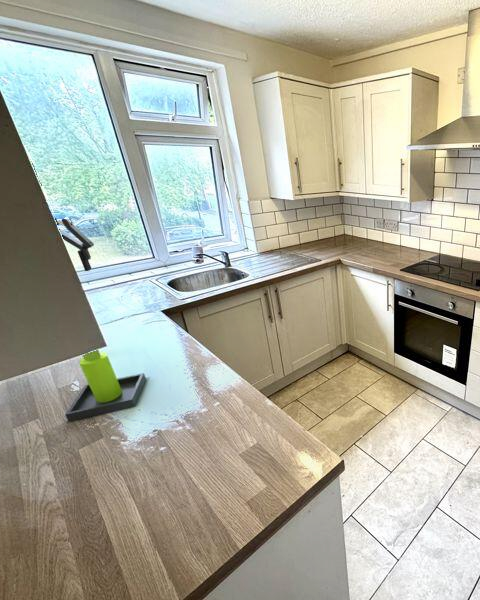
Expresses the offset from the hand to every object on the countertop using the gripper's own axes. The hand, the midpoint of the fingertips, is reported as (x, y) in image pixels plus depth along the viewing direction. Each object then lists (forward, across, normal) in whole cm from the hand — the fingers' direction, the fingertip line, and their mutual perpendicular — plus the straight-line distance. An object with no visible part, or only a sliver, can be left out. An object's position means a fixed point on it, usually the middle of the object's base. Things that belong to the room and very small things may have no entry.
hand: (60, 272), depth 103 cm
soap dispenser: (+31, +11, -28) cm, 43 cm away
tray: (+32, +11, -28) cm, 44 cm away
